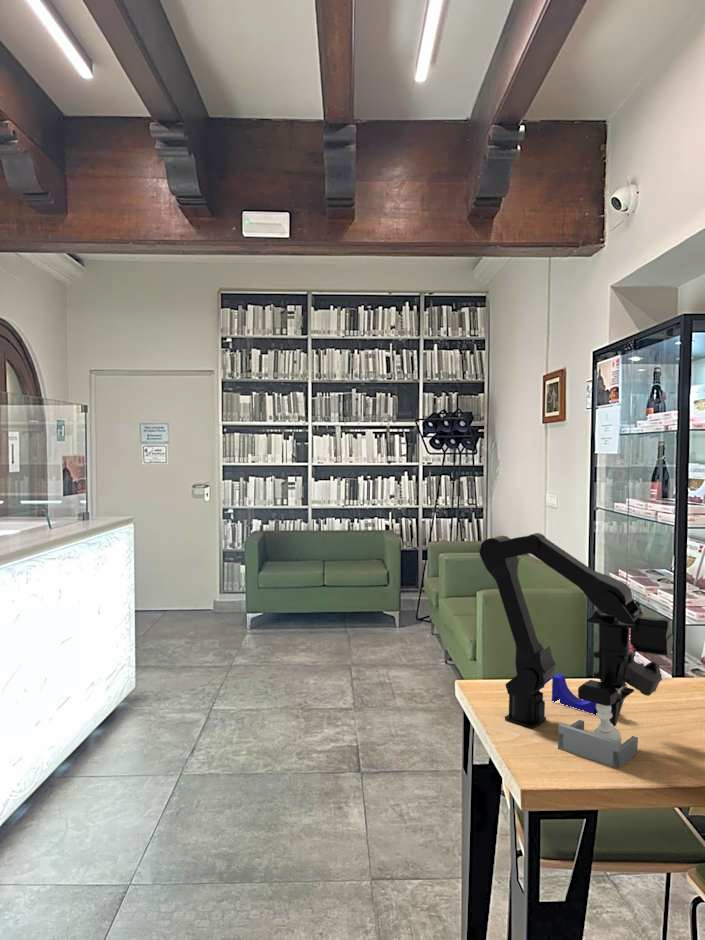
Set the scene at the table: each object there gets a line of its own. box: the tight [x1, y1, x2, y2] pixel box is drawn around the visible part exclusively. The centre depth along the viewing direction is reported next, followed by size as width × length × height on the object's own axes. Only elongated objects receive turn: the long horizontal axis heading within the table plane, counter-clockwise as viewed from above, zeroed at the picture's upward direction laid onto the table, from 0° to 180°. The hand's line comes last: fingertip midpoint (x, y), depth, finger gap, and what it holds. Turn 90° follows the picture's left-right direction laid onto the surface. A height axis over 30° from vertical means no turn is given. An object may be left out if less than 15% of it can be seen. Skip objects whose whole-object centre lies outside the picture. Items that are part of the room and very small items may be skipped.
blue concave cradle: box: [551, 673, 598, 716], centre depth 151 cm, size 12×4×6 cm, turn 45°
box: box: [557, 719, 639, 770], centre depth 129 cm, size 12×9×4 cm
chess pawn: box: [592, 704, 622, 743], centre depth 130 cm, size 5×5×9 cm
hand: (612, 725), depth 133 cm, fingers closed
